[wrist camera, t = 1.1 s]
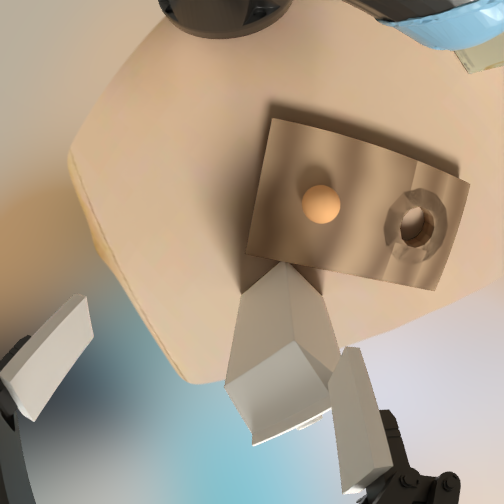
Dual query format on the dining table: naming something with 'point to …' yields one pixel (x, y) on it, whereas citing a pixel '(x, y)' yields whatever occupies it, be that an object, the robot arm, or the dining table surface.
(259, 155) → the dining table surface
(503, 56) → the skincare box
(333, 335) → the milk carton
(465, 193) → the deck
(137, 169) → the dining table surface
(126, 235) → the dining table surface
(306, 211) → the ball
